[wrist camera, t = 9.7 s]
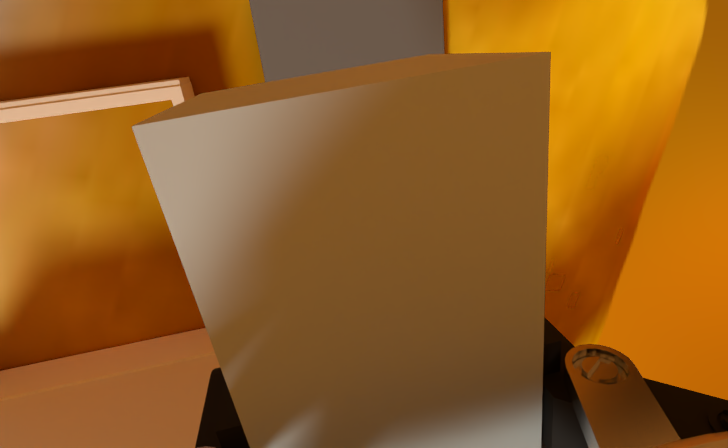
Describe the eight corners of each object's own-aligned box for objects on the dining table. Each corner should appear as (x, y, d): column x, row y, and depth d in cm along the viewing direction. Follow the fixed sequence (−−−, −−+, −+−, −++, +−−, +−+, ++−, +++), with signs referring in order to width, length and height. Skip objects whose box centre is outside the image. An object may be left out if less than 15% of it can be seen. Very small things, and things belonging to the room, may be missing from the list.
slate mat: (437, -23, 25) (441, -25, 24) (448, 236, 31) (451, 239, 31) (248, -3, 23) (248, -4, 23) (302, 264, 30) (303, 268, 29)
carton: (189, 76, 24) (128, 94, 14) (256, 324, 31) (247, 453, 21) (-182, 125, 22) (-576, 189, 12) (-19, 382, 29) (-177, 560, 19)
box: (429, 54, 10) (551, 52, 6) (459, 411, 15) (538, 568, 10) (200, 93, 10) (129, 126, 5) (306, 453, 14) (320, 640, 10)
